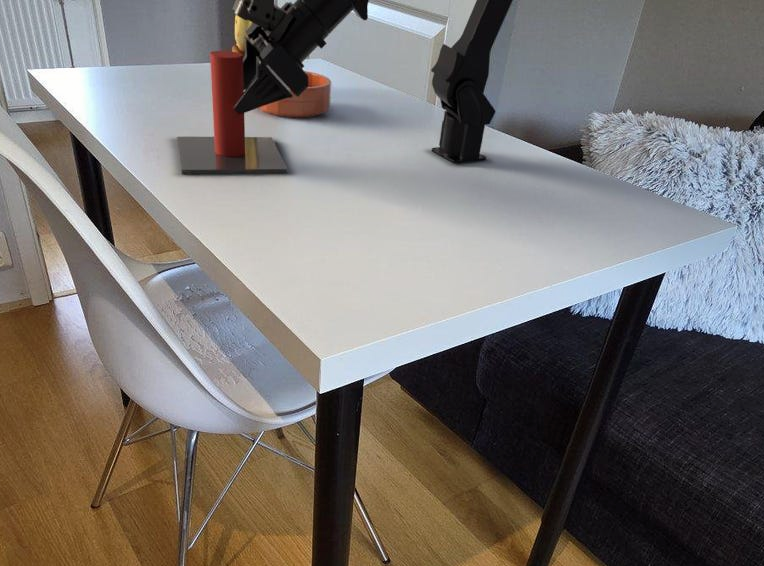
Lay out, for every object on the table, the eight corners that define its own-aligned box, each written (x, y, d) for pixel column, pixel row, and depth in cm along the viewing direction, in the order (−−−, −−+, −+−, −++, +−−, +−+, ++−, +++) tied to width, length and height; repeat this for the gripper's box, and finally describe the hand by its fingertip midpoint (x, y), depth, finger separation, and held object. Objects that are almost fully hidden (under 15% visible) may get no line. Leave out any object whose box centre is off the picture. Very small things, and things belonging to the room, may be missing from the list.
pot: (343, 116, 117) (345, 86, 114) (272, 121, 111) (272, 90, 108) (307, 95, 126) (308, 67, 123) (240, 99, 120) (239, 70, 117)
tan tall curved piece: (261, 88, 127) (260, -31, 116) (234, 89, 125) (231, -33, 114) (251, 79, 132) (249, -36, 121) (225, 79, 130) (221, -38, 119)
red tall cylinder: (248, 149, 96) (246, 53, 89) (240, 158, 93) (237, 59, 85) (220, 145, 96) (216, 49, 89) (210, 154, 93) (205, 54, 85)
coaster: (271, 140, 102) (271, 137, 102) (287, 173, 91) (287, 169, 91) (177, 140, 98) (176, 136, 98) (181, 174, 87) (181, 169, 87)
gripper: (259, -45, 90) (182, 41, 93) (282, -28, 75) (189, 73, 79) (315, 22, 96) (240, 100, 100) (345, 50, 82) (258, 139, 85)
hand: (232, 102), depth 91 cm, fingers open, 9 cm apart
